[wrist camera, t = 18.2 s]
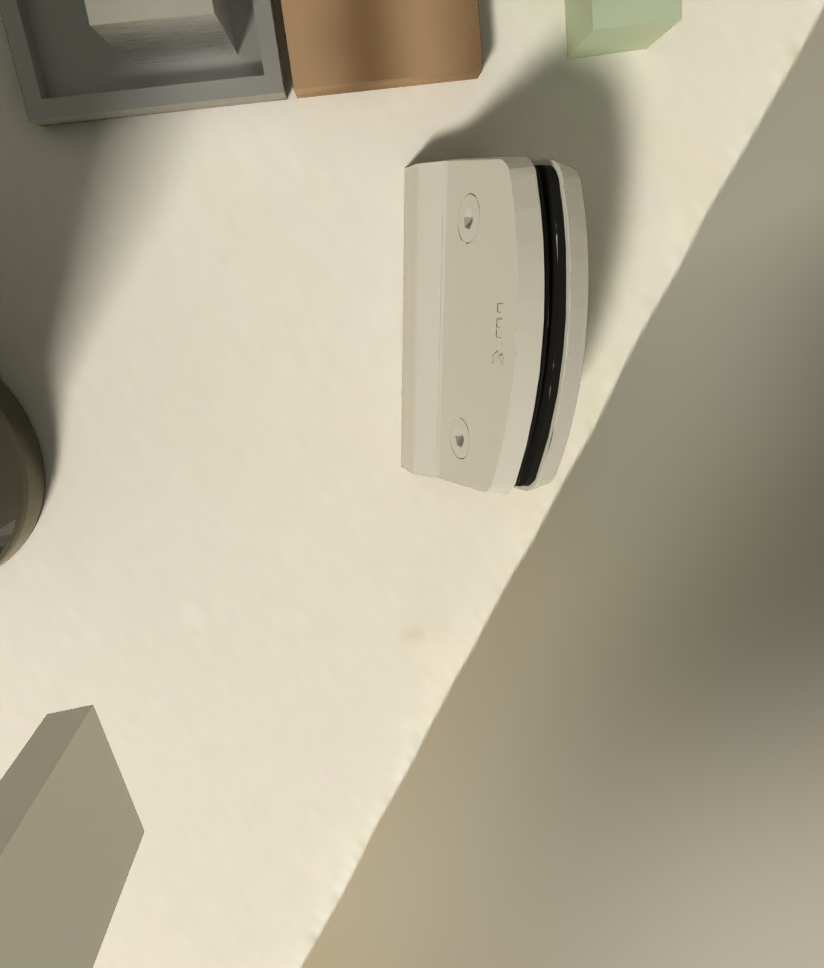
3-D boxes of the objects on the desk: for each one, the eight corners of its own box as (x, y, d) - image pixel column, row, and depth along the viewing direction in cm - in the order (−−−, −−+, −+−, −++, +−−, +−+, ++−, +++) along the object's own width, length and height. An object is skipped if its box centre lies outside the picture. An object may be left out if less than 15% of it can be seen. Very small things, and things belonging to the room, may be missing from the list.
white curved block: (404, 159, 33) (509, 116, 24) (485, 167, 35) (609, 130, 26) (400, 473, 38) (486, 531, 29) (471, 465, 40) (572, 518, 31)
